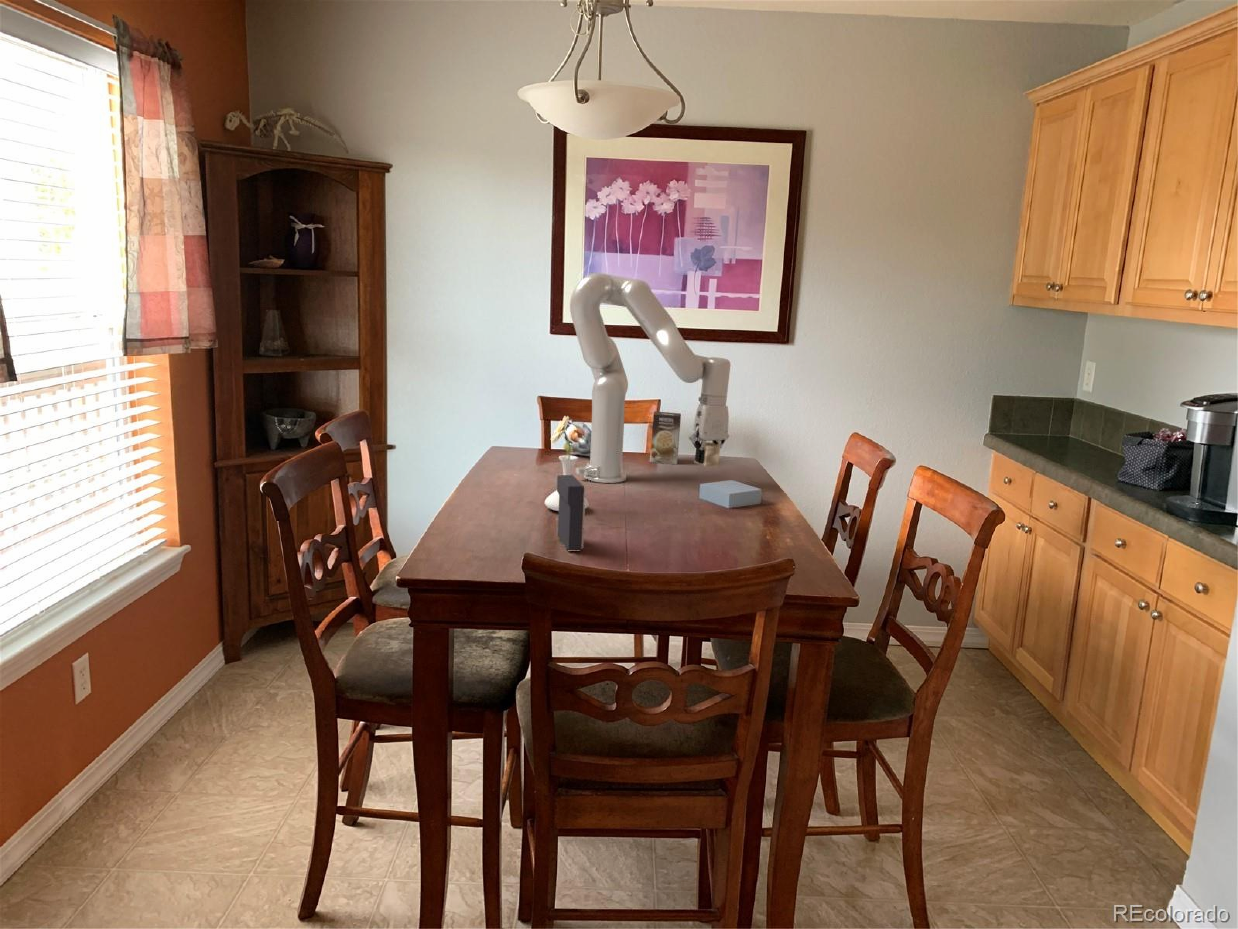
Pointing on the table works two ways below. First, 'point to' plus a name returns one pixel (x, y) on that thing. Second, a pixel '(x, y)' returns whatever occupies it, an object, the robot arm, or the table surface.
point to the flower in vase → (567, 463)
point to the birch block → (710, 454)
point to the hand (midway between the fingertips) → (706, 461)
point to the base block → (730, 493)
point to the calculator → (571, 512)
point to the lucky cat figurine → (578, 438)
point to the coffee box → (665, 437)
